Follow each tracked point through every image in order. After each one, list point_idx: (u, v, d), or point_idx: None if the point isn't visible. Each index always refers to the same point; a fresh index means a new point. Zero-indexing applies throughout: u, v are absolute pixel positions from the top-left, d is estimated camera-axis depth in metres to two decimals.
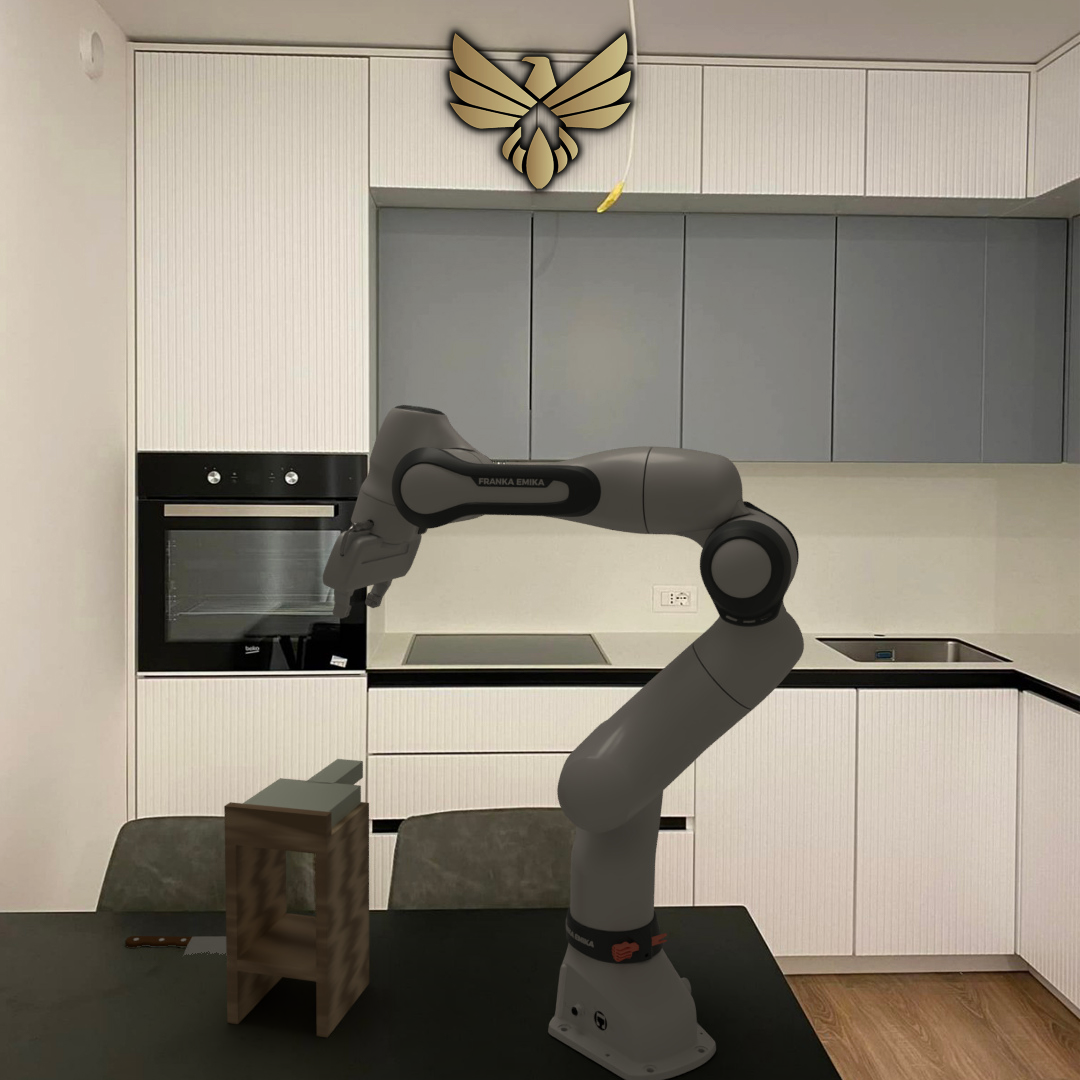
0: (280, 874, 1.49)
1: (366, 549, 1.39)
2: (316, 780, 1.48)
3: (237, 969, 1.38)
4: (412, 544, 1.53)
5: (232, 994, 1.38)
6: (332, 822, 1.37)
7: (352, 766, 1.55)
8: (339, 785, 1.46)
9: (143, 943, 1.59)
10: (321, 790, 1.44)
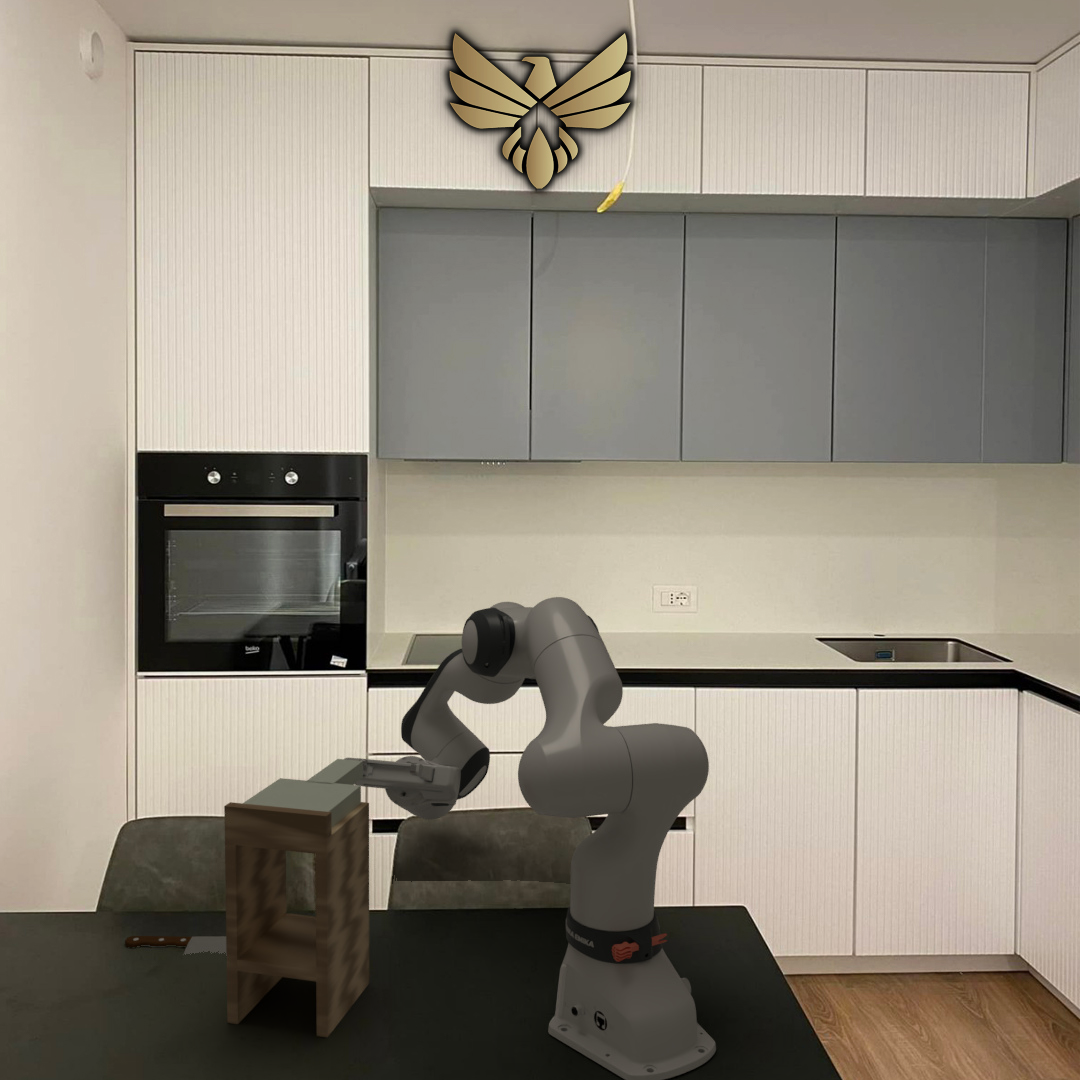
0: (280, 874, 1.49)
1: None
2: (316, 780, 1.48)
3: (237, 969, 1.38)
4: None
5: (232, 994, 1.38)
6: (332, 822, 1.37)
7: (352, 766, 1.55)
8: (339, 785, 1.46)
9: (143, 943, 1.59)
10: (321, 790, 1.44)
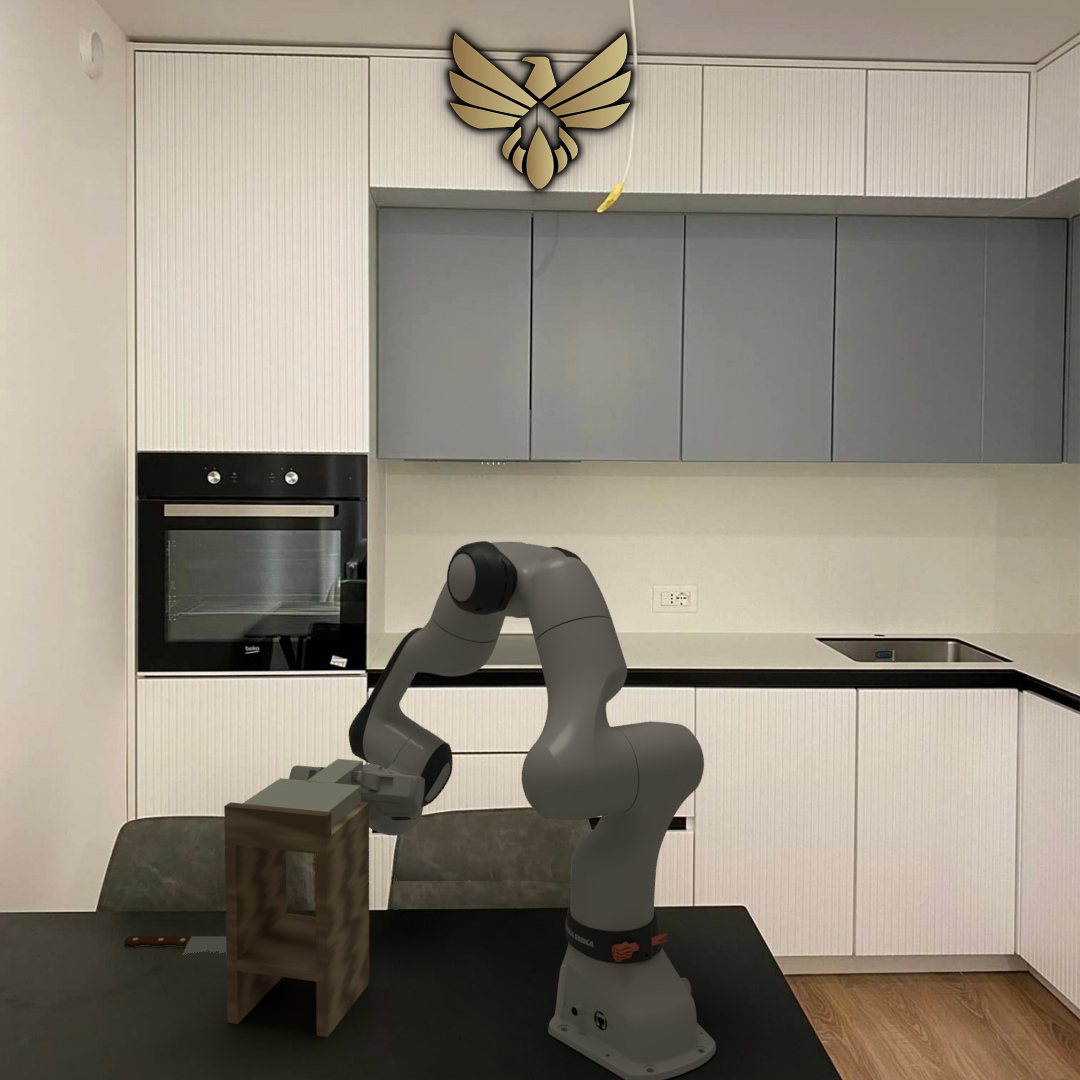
0: (280, 874, 1.49)
1: None
2: (316, 780, 1.48)
3: (237, 969, 1.38)
4: None
5: (232, 994, 1.38)
6: (332, 822, 1.37)
7: (352, 766, 1.55)
8: (339, 785, 1.46)
9: (142, 943, 1.59)
10: (321, 790, 1.44)
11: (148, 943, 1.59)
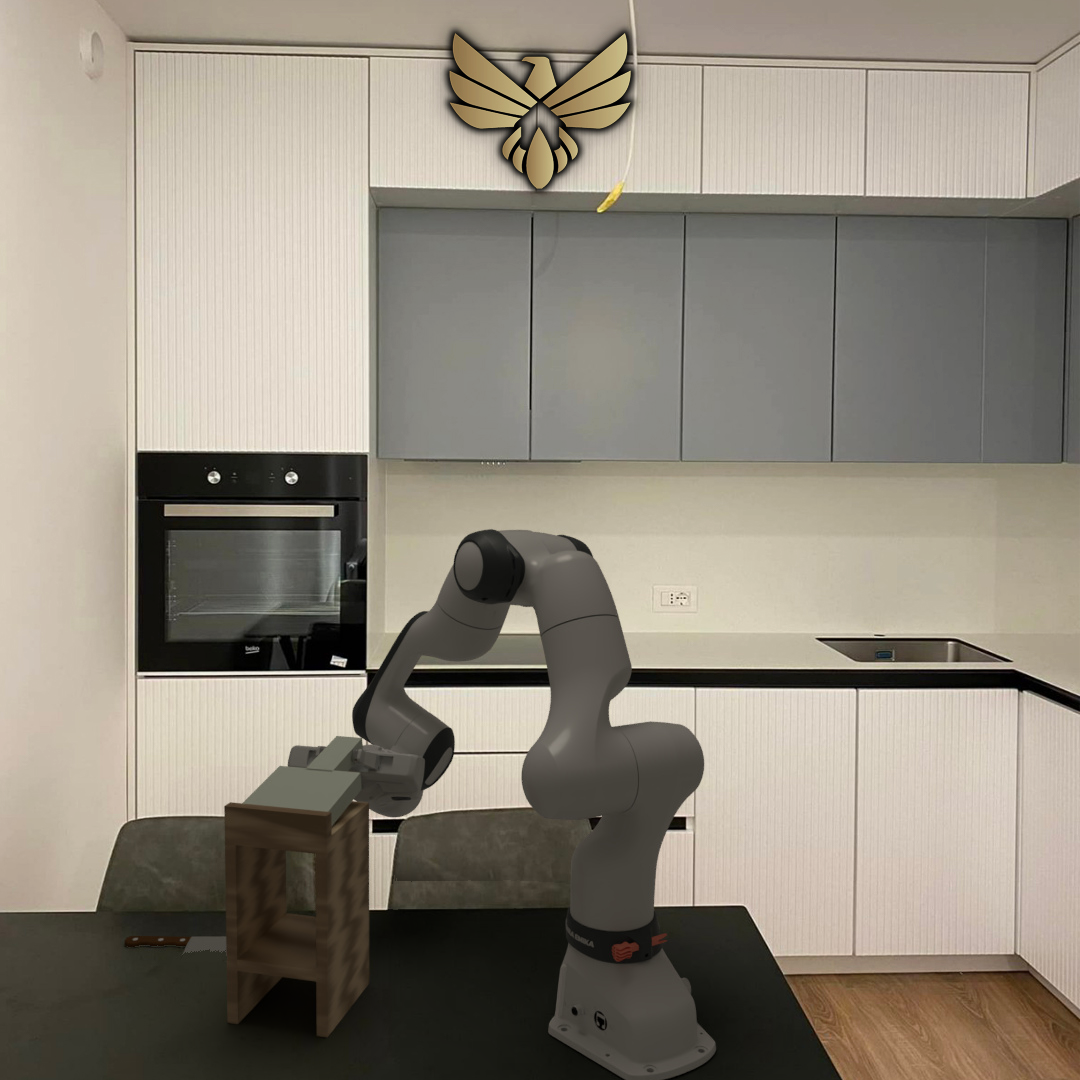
0: (280, 874, 1.49)
1: None
2: (315, 767, 1.48)
3: (237, 969, 1.38)
4: None
5: (232, 994, 1.38)
6: (333, 819, 1.38)
7: (351, 746, 1.54)
8: (339, 773, 1.46)
9: (142, 943, 1.59)
10: (320, 780, 1.44)
11: (148, 943, 1.59)
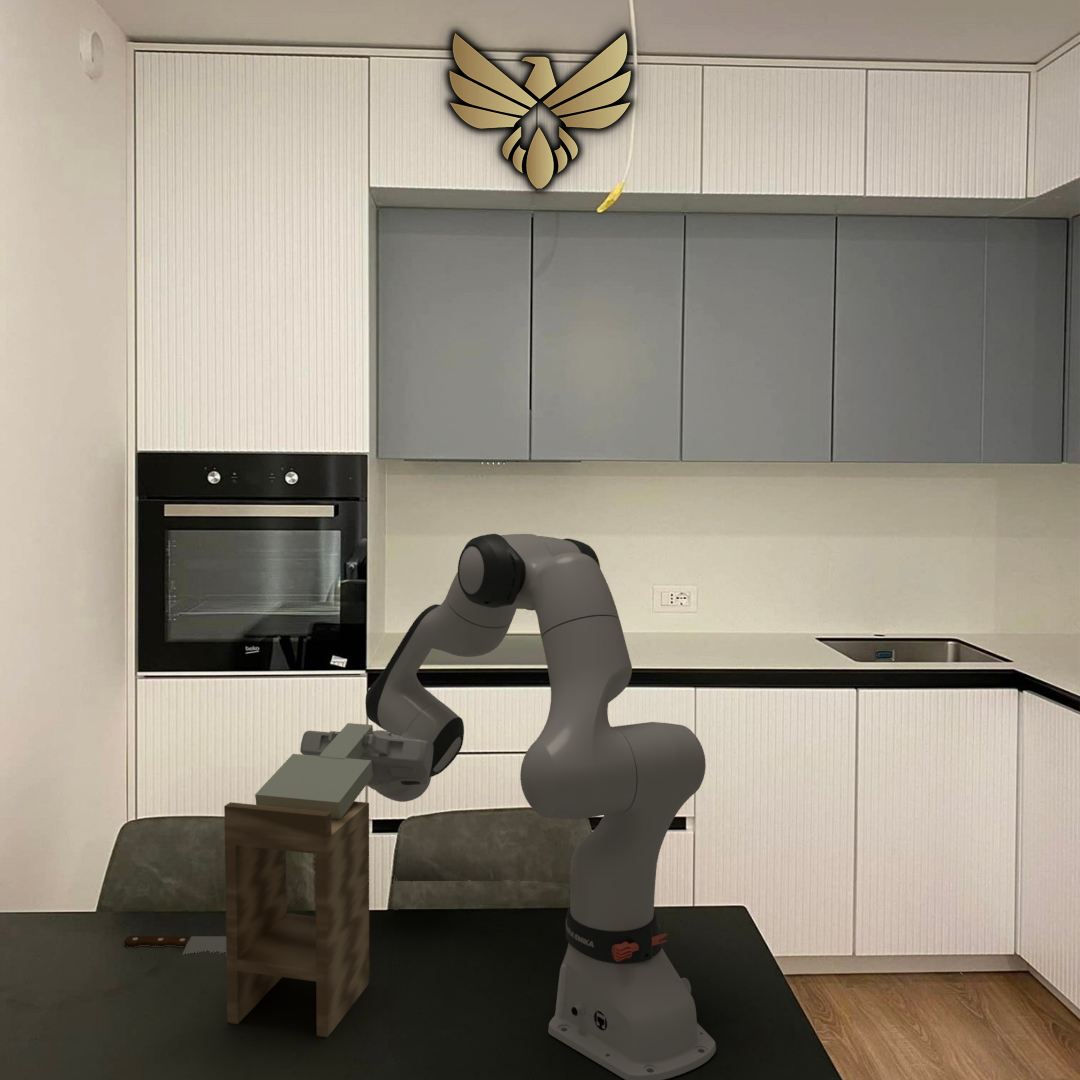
0: (280, 874, 1.49)
1: None
2: (328, 755, 1.52)
3: (237, 969, 1.38)
4: None
5: (232, 994, 1.38)
6: (346, 807, 1.42)
7: (362, 733, 1.58)
8: (350, 761, 1.50)
9: (142, 943, 1.59)
10: (333, 768, 1.48)
11: (148, 943, 1.59)
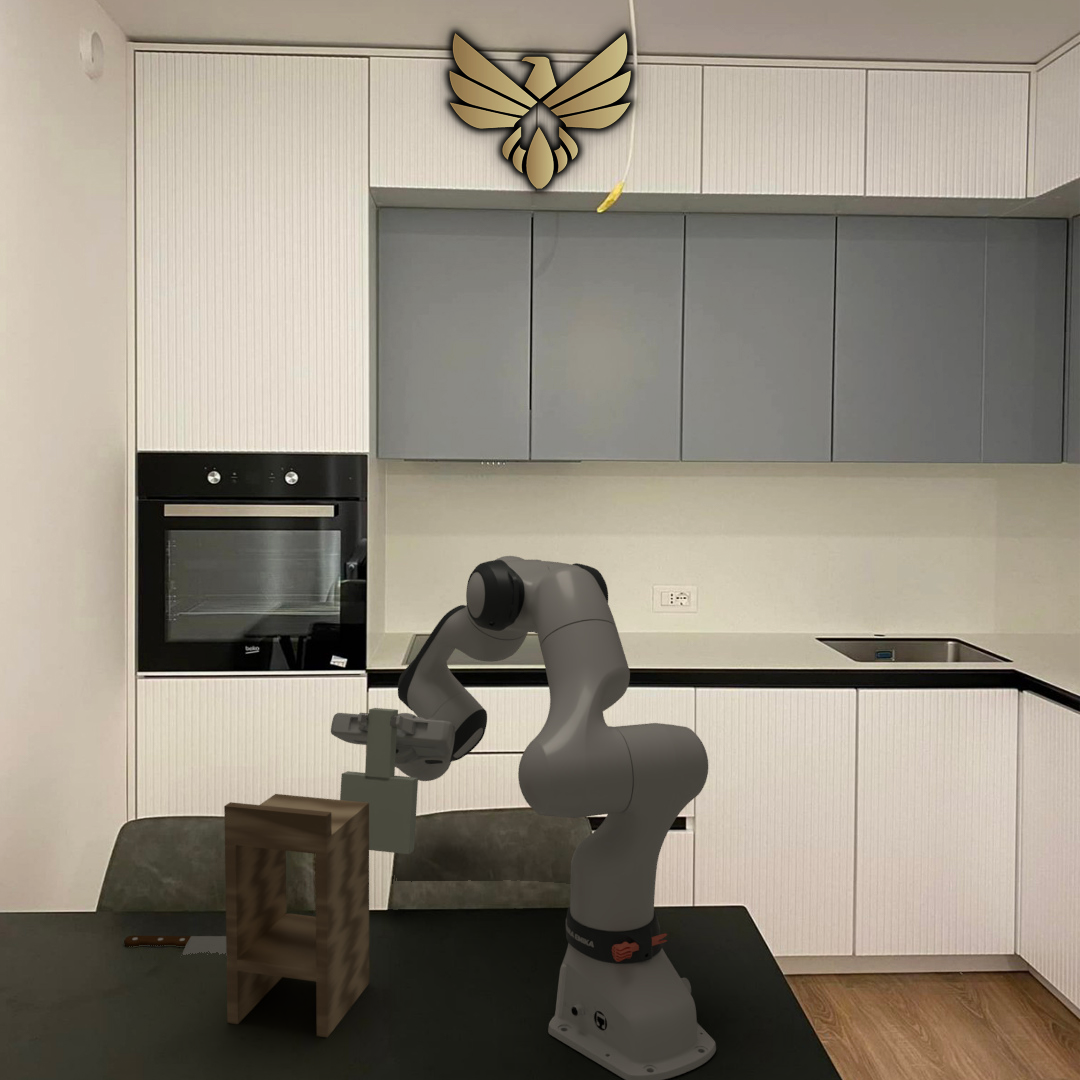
0: (280, 874, 1.49)
1: None
2: (372, 774, 1.69)
3: (237, 969, 1.38)
4: None
5: (232, 994, 1.38)
6: (413, 838, 1.69)
7: (388, 729, 1.69)
8: (395, 783, 1.68)
9: (142, 943, 1.59)
10: (385, 797, 1.68)
11: (147, 943, 1.59)
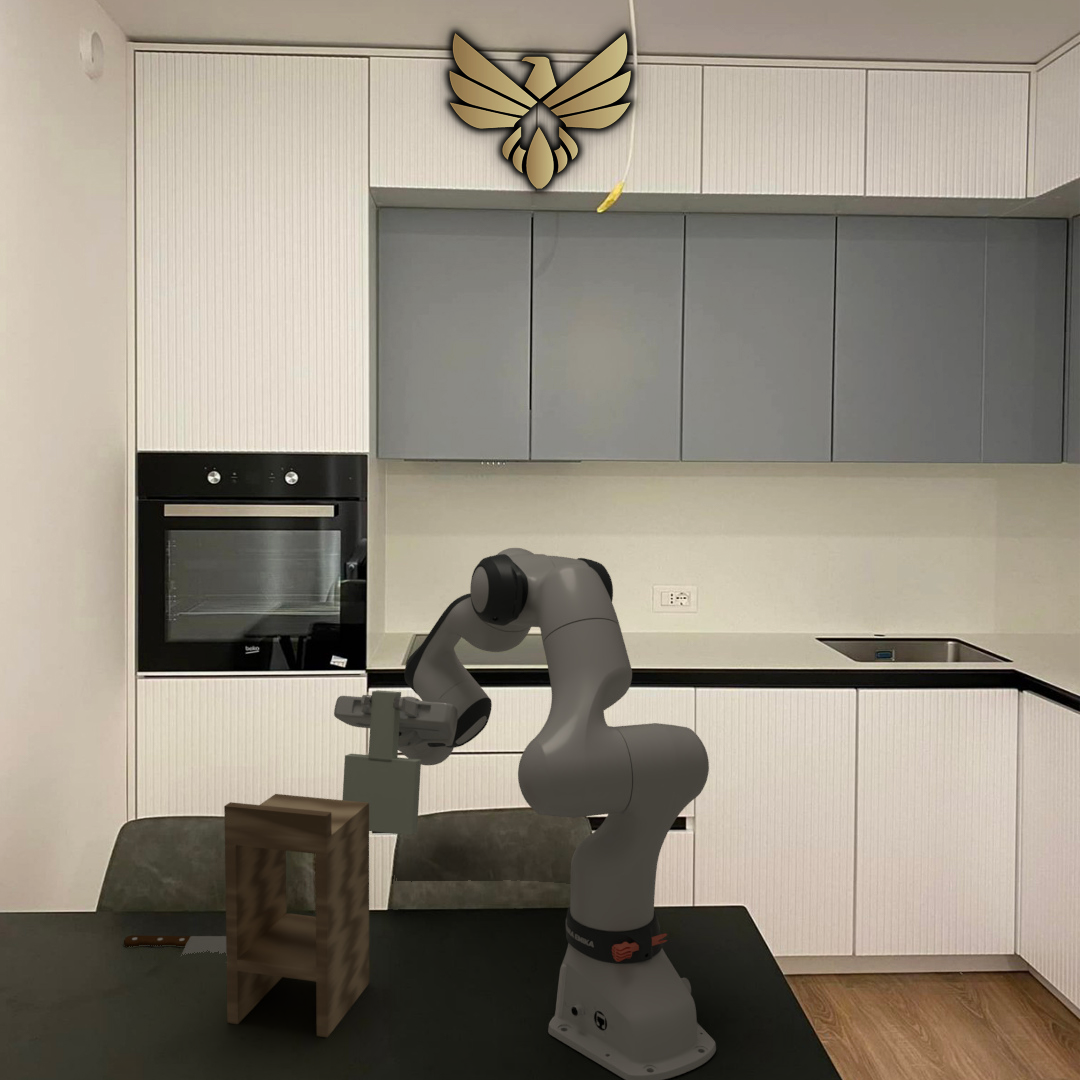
0: (280, 874, 1.49)
1: None
2: (375, 756, 1.70)
3: (237, 969, 1.38)
4: None
5: (232, 994, 1.38)
6: (416, 819, 1.70)
7: (391, 711, 1.70)
8: (398, 764, 1.69)
9: (141, 943, 1.59)
10: (388, 779, 1.69)
11: (147, 943, 1.59)
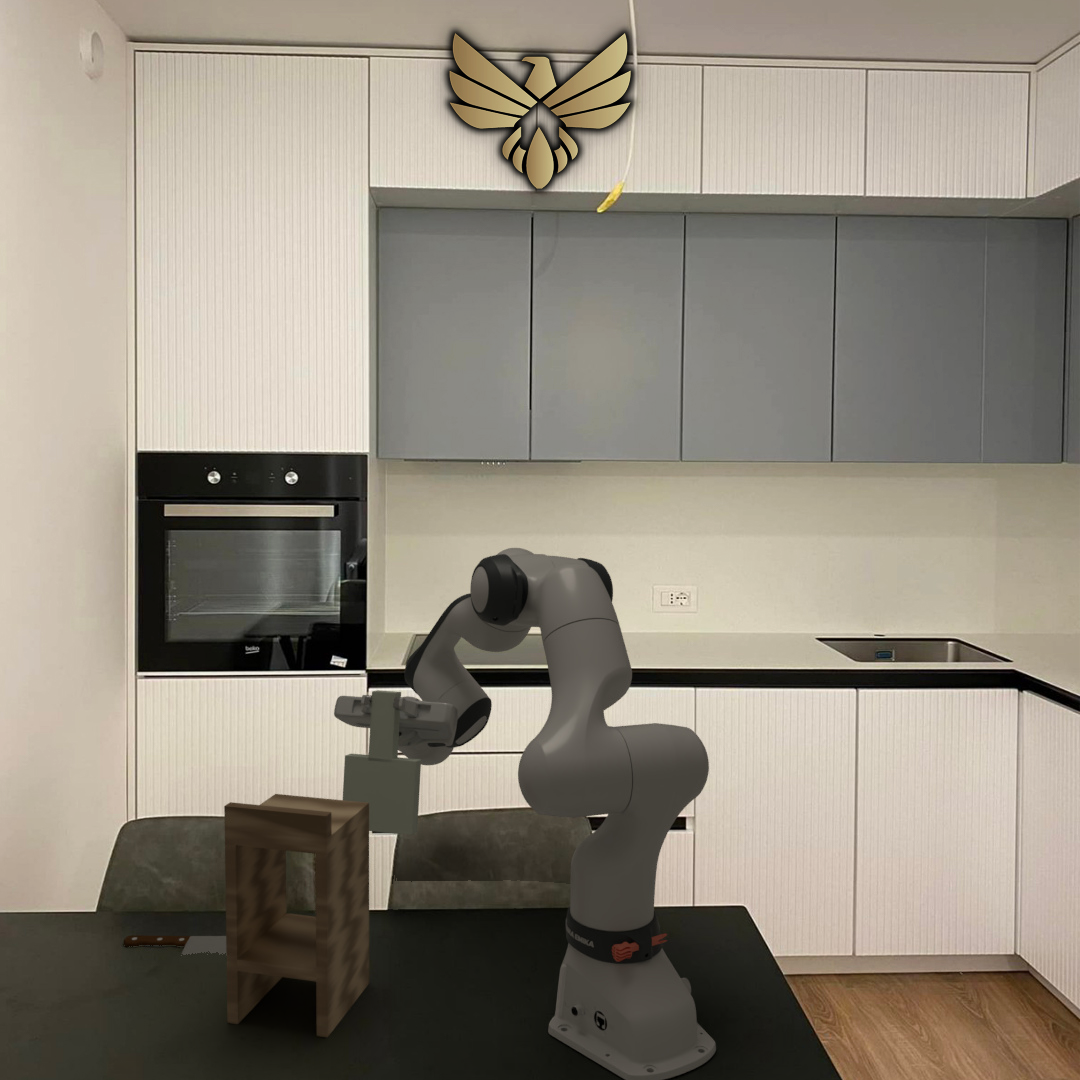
0: (280, 874, 1.49)
1: None
2: (376, 756, 1.70)
3: (237, 969, 1.38)
4: None
5: (232, 994, 1.38)
6: (416, 819, 1.70)
7: (391, 711, 1.70)
8: (398, 764, 1.69)
9: (141, 942, 1.59)
10: (388, 779, 1.69)
11: (147, 943, 1.59)
